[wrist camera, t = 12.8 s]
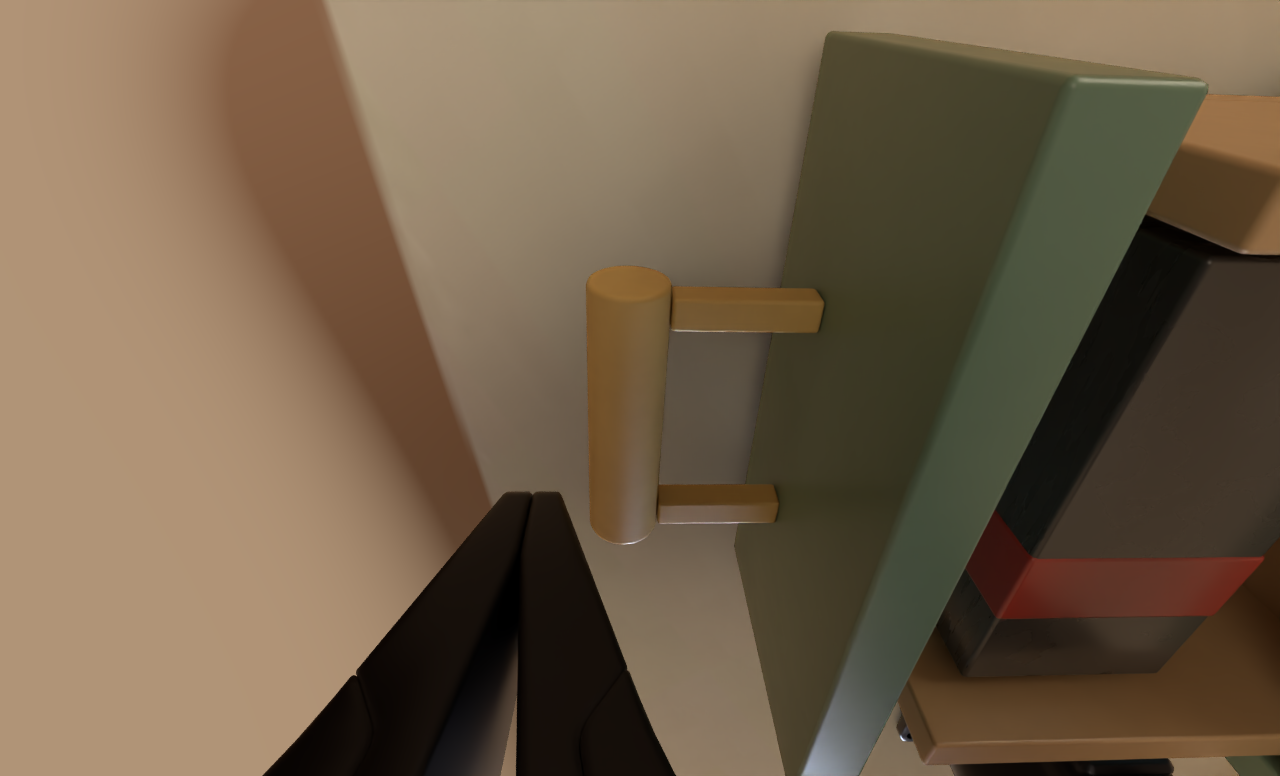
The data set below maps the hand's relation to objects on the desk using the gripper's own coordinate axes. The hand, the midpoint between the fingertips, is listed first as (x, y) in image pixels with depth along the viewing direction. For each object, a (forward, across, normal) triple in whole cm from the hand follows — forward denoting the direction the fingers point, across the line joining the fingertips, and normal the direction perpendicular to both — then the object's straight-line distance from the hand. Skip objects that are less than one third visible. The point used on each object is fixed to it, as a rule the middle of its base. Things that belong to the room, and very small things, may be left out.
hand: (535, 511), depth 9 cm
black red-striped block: (+4, -10, 0) cm, 11 cm away
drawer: (+5, -9, 0) cm, 10 cm away
